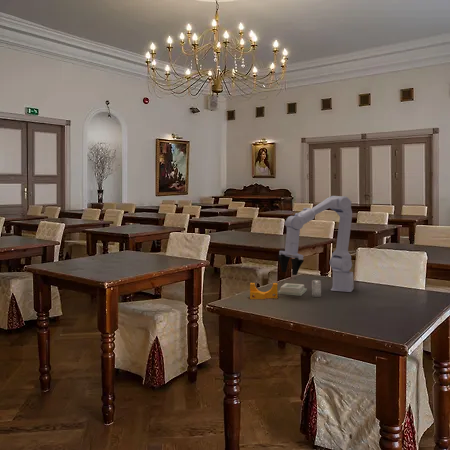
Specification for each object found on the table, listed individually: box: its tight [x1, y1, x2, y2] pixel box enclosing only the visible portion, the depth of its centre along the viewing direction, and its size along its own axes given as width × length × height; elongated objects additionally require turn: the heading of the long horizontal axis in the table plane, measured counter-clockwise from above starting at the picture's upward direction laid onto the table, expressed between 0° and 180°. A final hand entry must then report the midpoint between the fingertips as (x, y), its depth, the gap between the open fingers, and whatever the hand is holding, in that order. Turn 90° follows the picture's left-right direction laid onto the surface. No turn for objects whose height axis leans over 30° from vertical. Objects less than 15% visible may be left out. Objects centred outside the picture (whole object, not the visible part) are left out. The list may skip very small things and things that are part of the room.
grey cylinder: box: [311, 279, 322, 298], centre depth 219 cm, size 4×4×7 cm
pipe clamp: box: [249, 282, 279, 300], centre depth 217 cm, size 12×4×6 cm, turn 85°
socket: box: [278, 282, 308, 297], centre depth 227 cm, size 11×11×3 cm
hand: (289, 273), depth 219 cm, fingers open, 7 cm apart
